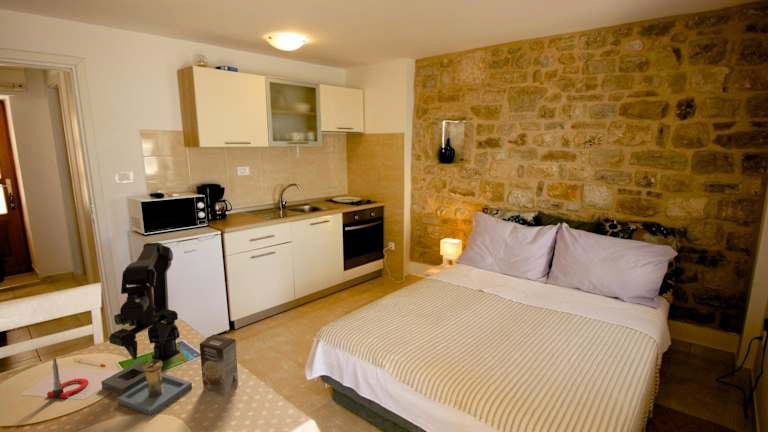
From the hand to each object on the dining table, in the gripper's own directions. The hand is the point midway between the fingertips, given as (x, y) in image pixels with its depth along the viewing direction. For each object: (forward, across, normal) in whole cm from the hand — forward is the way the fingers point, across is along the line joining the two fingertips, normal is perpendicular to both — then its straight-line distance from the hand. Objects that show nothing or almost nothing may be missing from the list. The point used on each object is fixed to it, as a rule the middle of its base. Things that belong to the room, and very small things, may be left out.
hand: (148, 351), depth 120 cm
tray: (+12, +3, +5) cm, 14 cm away
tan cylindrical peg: (+12, +3, +5) cm, 13 cm away
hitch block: (+13, +1, -9) cm, 16 cm away
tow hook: (+13, +10, -23) cm, 29 cm away
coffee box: (+13, -8, +20) cm, 25 cm away
